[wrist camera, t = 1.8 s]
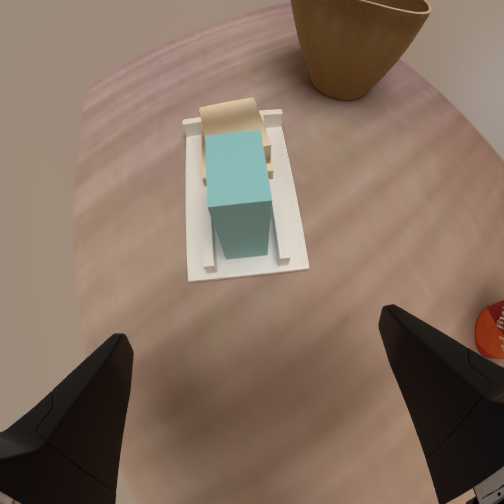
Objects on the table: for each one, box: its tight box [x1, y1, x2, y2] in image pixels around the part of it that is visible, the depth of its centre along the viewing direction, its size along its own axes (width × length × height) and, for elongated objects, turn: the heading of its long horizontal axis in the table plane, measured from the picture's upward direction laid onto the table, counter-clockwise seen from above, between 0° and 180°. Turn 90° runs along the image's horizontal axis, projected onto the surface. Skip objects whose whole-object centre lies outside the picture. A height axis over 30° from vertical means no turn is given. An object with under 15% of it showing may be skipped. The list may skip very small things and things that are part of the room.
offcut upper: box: [199, 97, 271, 164], centre depth 24 cm, size 6×5×2 cm
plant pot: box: [291, 0, 432, 100], centre depth 24 cm, size 15×15×16 cm
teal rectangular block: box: [205, 130, 272, 260], centre depth 20 cm, size 5×3×10 cm
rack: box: [183, 109, 309, 283], centre depth 26 cm, size 16×10×3 cm, turn 6°
